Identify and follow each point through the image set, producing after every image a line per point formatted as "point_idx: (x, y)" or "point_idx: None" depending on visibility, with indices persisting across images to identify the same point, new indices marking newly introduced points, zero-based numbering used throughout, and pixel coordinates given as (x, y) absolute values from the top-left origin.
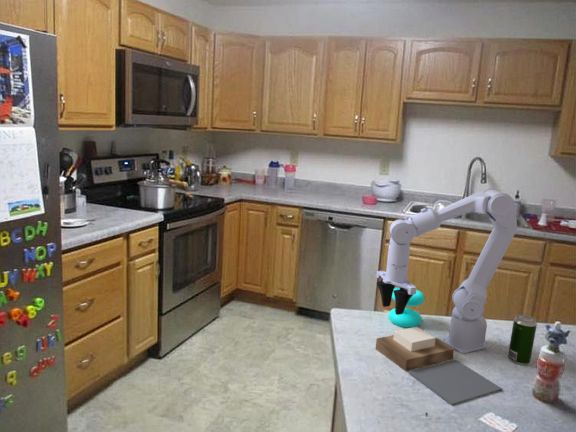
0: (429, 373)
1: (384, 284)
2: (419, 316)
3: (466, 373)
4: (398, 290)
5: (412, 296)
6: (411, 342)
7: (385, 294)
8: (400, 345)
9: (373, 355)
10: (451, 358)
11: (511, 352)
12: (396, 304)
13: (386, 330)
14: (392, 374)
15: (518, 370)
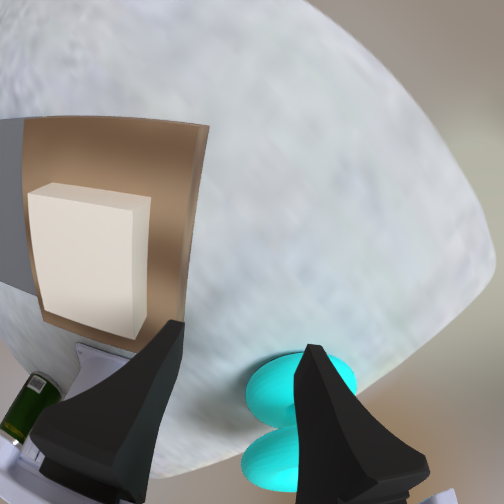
0: (15, 172)
1: (346, 494)
2: (257, 418)
3: (4, 260)
4: (103, 478)
5: (265, 471)
6: (30, 193)
7: (322, 420)
8: (96, 180)
9: (174, 78)
10: None
11: (37, 386)
12: (148, 365)
13: (300, 297)
14: (60, 63)
15: (20, 353)
